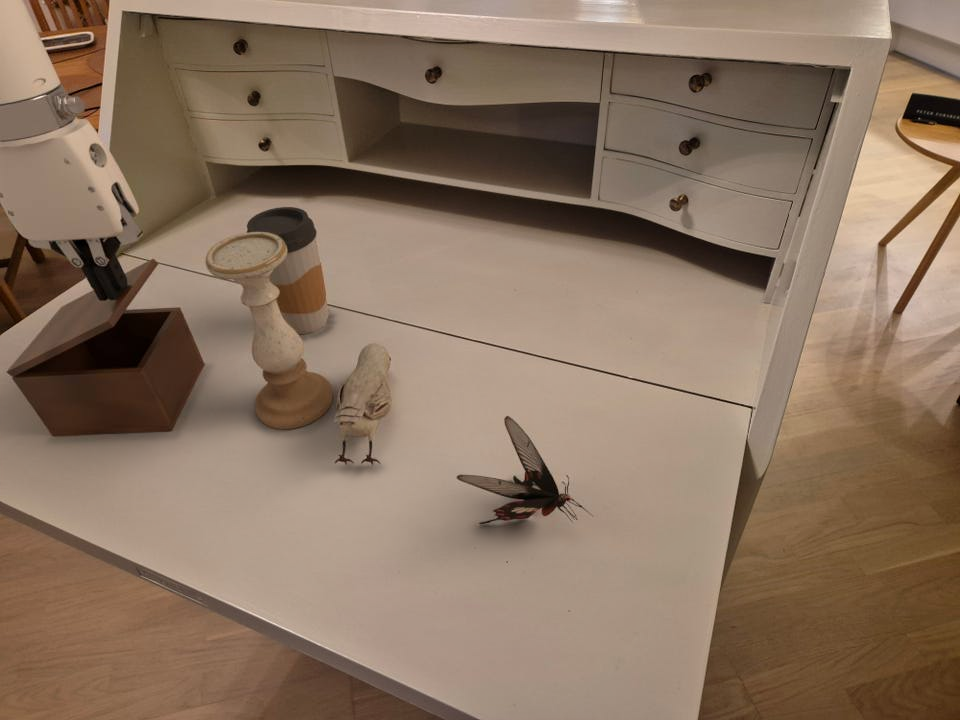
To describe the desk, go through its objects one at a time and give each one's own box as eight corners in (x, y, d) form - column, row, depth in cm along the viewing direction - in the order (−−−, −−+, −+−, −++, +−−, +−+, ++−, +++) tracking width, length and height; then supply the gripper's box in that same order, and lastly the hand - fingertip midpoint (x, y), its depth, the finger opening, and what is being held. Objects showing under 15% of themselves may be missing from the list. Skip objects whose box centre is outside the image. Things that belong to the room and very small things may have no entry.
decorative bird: (404, 370, 77) (396, 321, 72) (383, 474, 65) (371, 423, 60) (360, 371, 77) (349, 321, 73) (331, 474, 65) (315, 423, 60)
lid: (158, 263, 70) (153, 258, 70) (113, 326, 62) (107, 320, 61) (67, 311, 75) (61, 306, 74) (12, 377, 66) (5, 372, 65)
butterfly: (494, 548, 62) (430, 472, 61) (551, 488, 65) (492, 414, 63) (543, 576, 52) (469, 487, 50) (609, 505, 55) (541, 417, 53)
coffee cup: (304, 297, 90) (277, 199, 81) (349, 313, 87) (326, 213, 77) (261, 329, 85) (227, 228, 75) (307, 347, 82) (277, 244, 72)
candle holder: (320, 432, 70) (272, 276, 57) (244, 428, 71) (180, 274, 58) (342, 378, 76) (304, 228, 63) (273, 376, 78) (221, 227, 64)
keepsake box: (204, 364, 80) (180, 307, 74) (171, 431, 71) (140, 372, 65) (98, 368, 80) (65, 312, 75) (52, 436, 71) (11, 378, 66)
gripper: (127, 94, 57) (197, 270, 69) (-36, 104, 57) (62, 277, 69) (88, 125, 51) (172, 310, 63) (-92, 136, 52) (24, 318, 63)
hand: (114, 292), depth 66 cm, fingers closed
